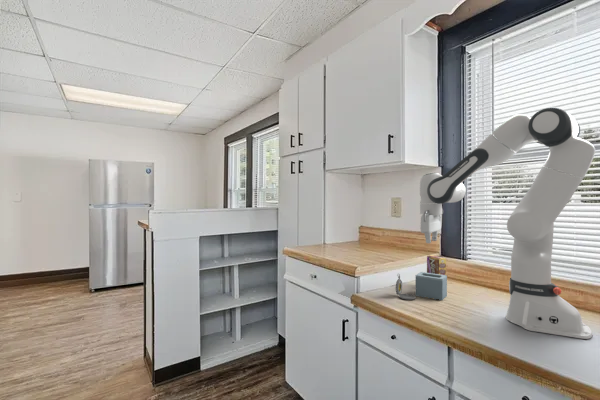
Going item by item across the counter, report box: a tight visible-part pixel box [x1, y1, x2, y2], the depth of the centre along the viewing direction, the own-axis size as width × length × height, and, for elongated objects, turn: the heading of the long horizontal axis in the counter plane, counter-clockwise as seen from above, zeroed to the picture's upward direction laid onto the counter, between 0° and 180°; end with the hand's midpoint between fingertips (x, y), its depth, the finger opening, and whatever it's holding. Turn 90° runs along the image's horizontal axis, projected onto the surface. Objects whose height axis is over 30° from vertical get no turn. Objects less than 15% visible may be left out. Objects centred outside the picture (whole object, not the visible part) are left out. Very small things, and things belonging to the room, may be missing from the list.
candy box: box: [426, 254, 447, 275], centre depth 146 cm, size 9×4×15 cm, turn 13°
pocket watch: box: [395, 273, 416, 301], centre depth 133 cm, size 8×8×10 cm
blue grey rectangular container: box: [415, 271, 448, 301], centre depth 135 cm, size 11×8×9 cm
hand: (431, 241), depth 135 cm, fingers open, 8 cm apart
